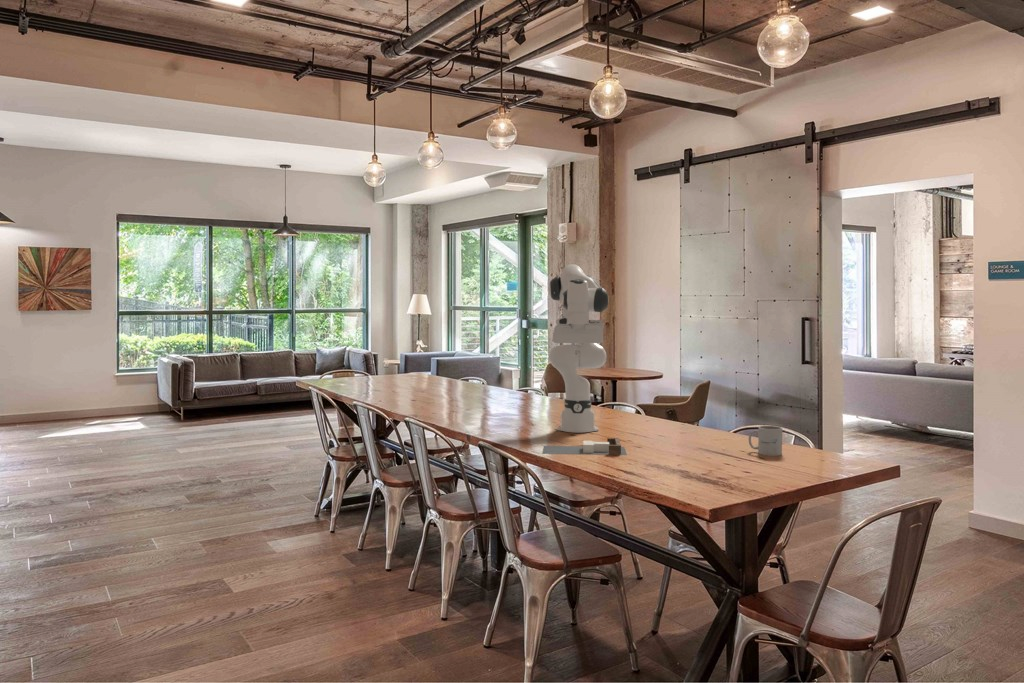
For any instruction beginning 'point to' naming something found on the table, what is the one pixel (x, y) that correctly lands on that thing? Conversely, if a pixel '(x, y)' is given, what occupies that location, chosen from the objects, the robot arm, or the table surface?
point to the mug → (768, 440)
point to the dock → (614, 446)
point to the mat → (573, 450)
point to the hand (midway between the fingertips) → (577, 354)
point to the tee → (595, 446)
